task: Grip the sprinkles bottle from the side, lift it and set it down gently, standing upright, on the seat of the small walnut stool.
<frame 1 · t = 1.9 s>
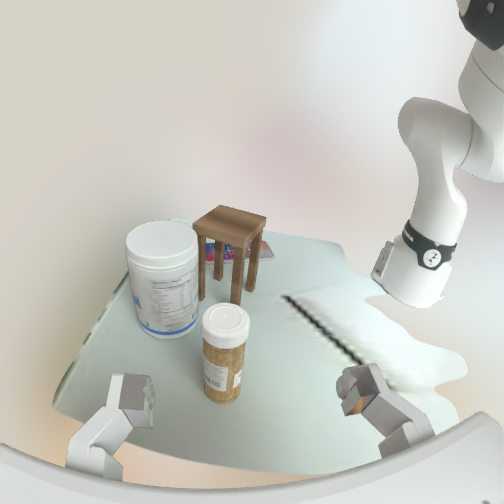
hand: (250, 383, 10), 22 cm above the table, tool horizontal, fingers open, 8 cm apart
sprinkles bottle: (221, 389, 32), on the table
stool: (225, 293, 48), on the table
supplement tub: (168, 320, 41), on the table
smartphone: (236, 254, 60), on the table
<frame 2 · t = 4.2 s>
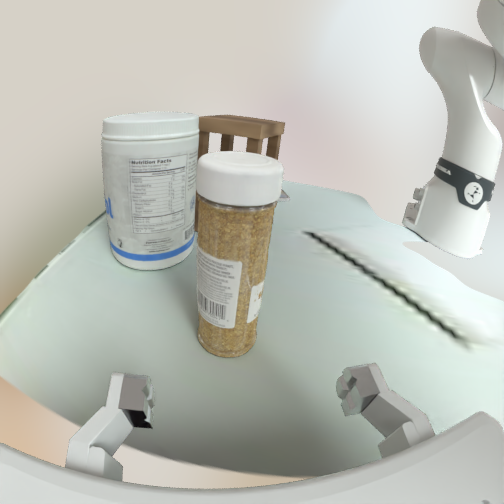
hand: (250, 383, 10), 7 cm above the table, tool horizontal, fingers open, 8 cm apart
sprinkles bottle: (225, 338, 21), on the table
stool: (231, 226, 37), on the table
supplement tub: (153, 251, 30), on the table
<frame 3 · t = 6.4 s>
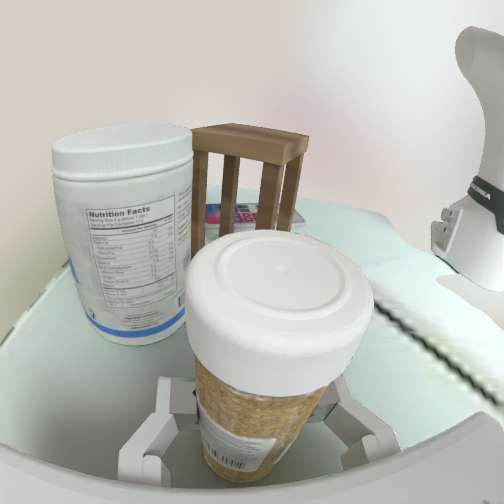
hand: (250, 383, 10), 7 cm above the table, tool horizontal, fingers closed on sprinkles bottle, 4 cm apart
sprinkles bottle: (240, 451, 14), on the table, touching gripper
stool: (238, 268, 29), on the table
supplement tub: (139, 310, 23), on the table
smartphone: (251, 219, 41), on the table
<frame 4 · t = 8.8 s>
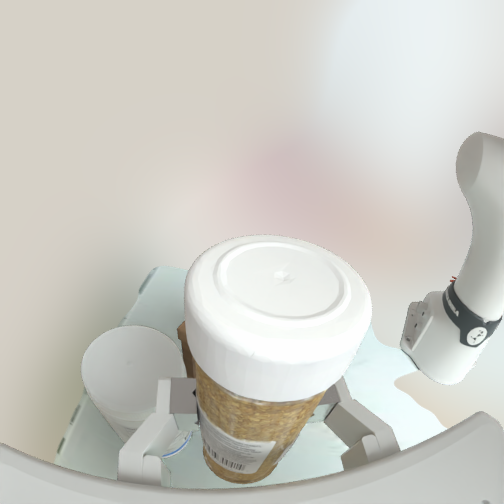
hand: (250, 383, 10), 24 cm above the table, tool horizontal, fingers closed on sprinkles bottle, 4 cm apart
sprinkles bottle: (240, 453, 14), point 17 cm above the table, touching gripper
stool: (226, 389, 35), on the table
supplement tub: (155, 428, 28), on the table
when the fingers open (22 cm above the table, at t = 11.3 s): sprinkles bottle drops 1 cm, resting on stool.
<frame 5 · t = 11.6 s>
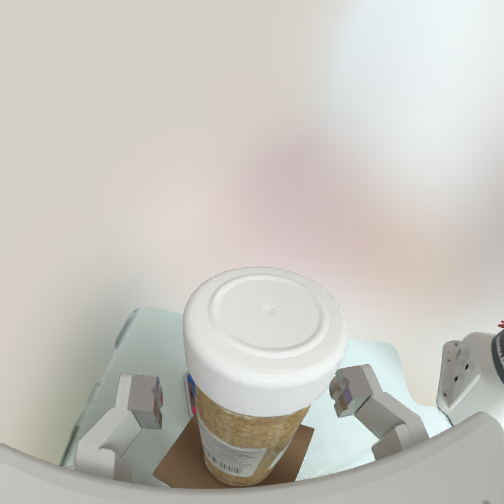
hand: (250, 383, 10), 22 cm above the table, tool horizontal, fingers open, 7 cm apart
sprinkles bottle: (238, 457, 14), point 14 cm above the table, touching stool
stool: (229, 486, 22), on the table
smartphone: (244, 391, 33), on the table
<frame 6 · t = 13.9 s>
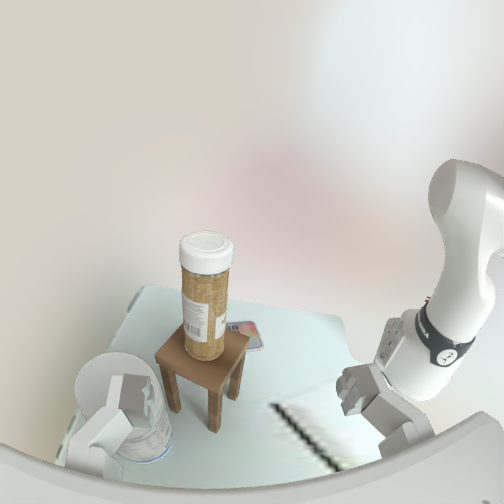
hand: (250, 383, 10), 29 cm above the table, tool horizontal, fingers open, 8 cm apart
sprinkles bottle: (204, 347, 30), point 14 cm above the table, touching stool
stool: (204, 403, 37), on the table
supplement tub: (141, 436, 30), on the table
smartphone: (219, 341, 49), on the table
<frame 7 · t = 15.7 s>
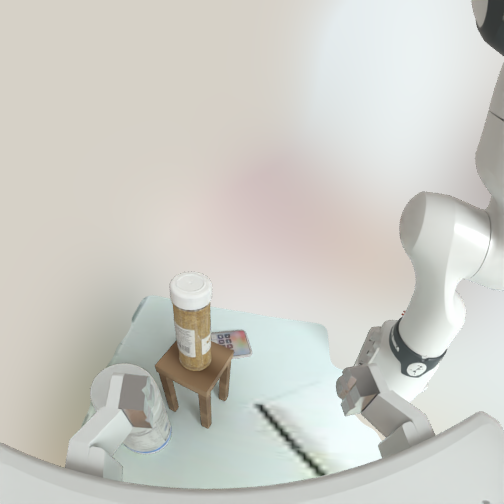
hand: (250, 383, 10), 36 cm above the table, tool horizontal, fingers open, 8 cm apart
sprinkles bottle: (195, 359, 36), point 14 cm above the table, touching stool
stool: (199, 403, 43), on the table
supplement tub: (145, 431, 37), on the table
smartphone: (213, 348, 55), on the table
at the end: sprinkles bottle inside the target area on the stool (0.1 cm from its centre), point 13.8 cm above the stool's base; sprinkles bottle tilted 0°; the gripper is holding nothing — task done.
